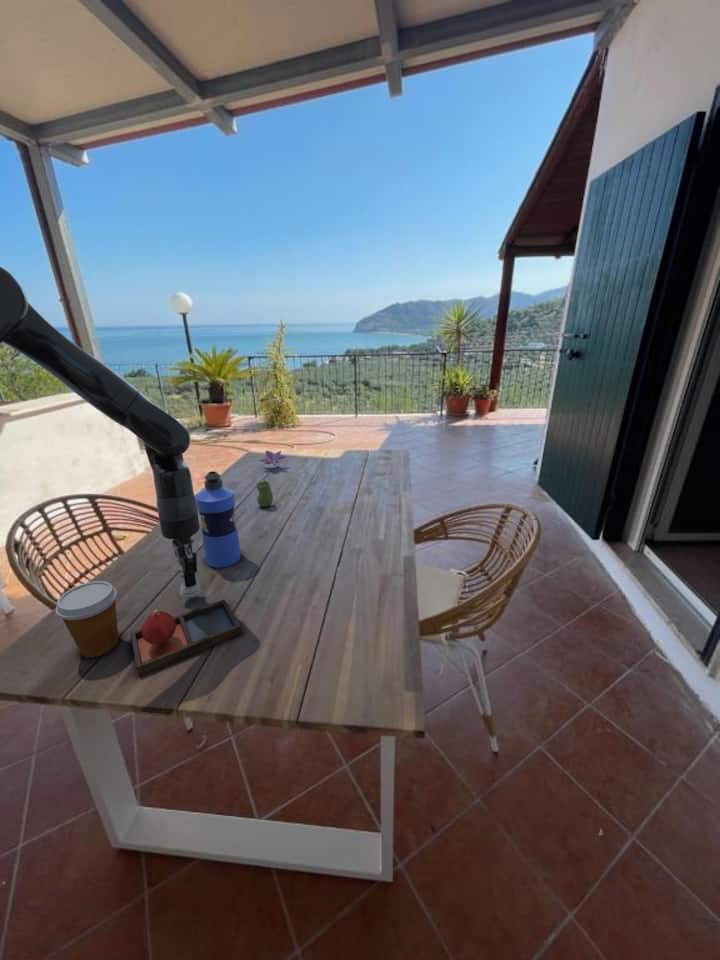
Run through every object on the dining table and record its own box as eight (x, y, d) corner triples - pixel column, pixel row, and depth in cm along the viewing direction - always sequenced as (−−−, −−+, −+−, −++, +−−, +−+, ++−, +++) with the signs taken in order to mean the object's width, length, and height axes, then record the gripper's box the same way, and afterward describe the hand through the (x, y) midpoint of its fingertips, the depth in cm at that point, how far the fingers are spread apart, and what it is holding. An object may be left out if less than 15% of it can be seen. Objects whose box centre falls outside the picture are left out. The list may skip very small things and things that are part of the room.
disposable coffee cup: (97, 669, 71) (81, 616, 67) (58, 657, 73) (40, 605, 69) (138, 634, 79) (127, 584, 75) (102, 624, 82) (89, 576, 78)
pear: (267, 510, 136) (265, 483, 133) (254, 508, 138) (252, 481, 135) (276, 504, 141) (274, 478, 138) (263, 502, 143) (261, 476, 140)
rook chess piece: (191, 585, 92) (187, 555, 89) (205, 590, 90) (201, 560, 87) (175, 595, 88) (170, 564, 85) (189, 601, 86) (184, 570, 84)
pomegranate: (139, 646, 75) (131, 612, 72) (168, 629, 80) (161, 596, 77) (156, 659, 72) (148, 624, 69) (184, 641, 77) (178, 607, 74)
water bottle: (207, 571, 101) (193, 481, 92) (204, 554, 109) (191, 469, 100) (243, 563, 105) (233, 475, 96) (238, 547, 112) (228, 465, 104)
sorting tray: (139, 676, 69) (136, 667, 69) (132, 640, 78) (129, 632, 77) (241, 634, 79) (240, 626, 79) (225, 606, 88) (224, 598, 87)
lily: (292, 469, 182) (286, 449, 183) (285, 467, 171) (279, 446, 171) (268, 476, 183) (262, 457, 184) (259, 475, 172) (253, 454, 172)
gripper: (153, 504, 86) (165, 572, 91) (164, 529, 75) (177, 603, 80) (189, 497, 90) (198, 562, 95) (205, 520, 79) (214, 591, 85)
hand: (189, 581), depth 88 cm, fingers closed on rook chess piece, 3 cm apart
